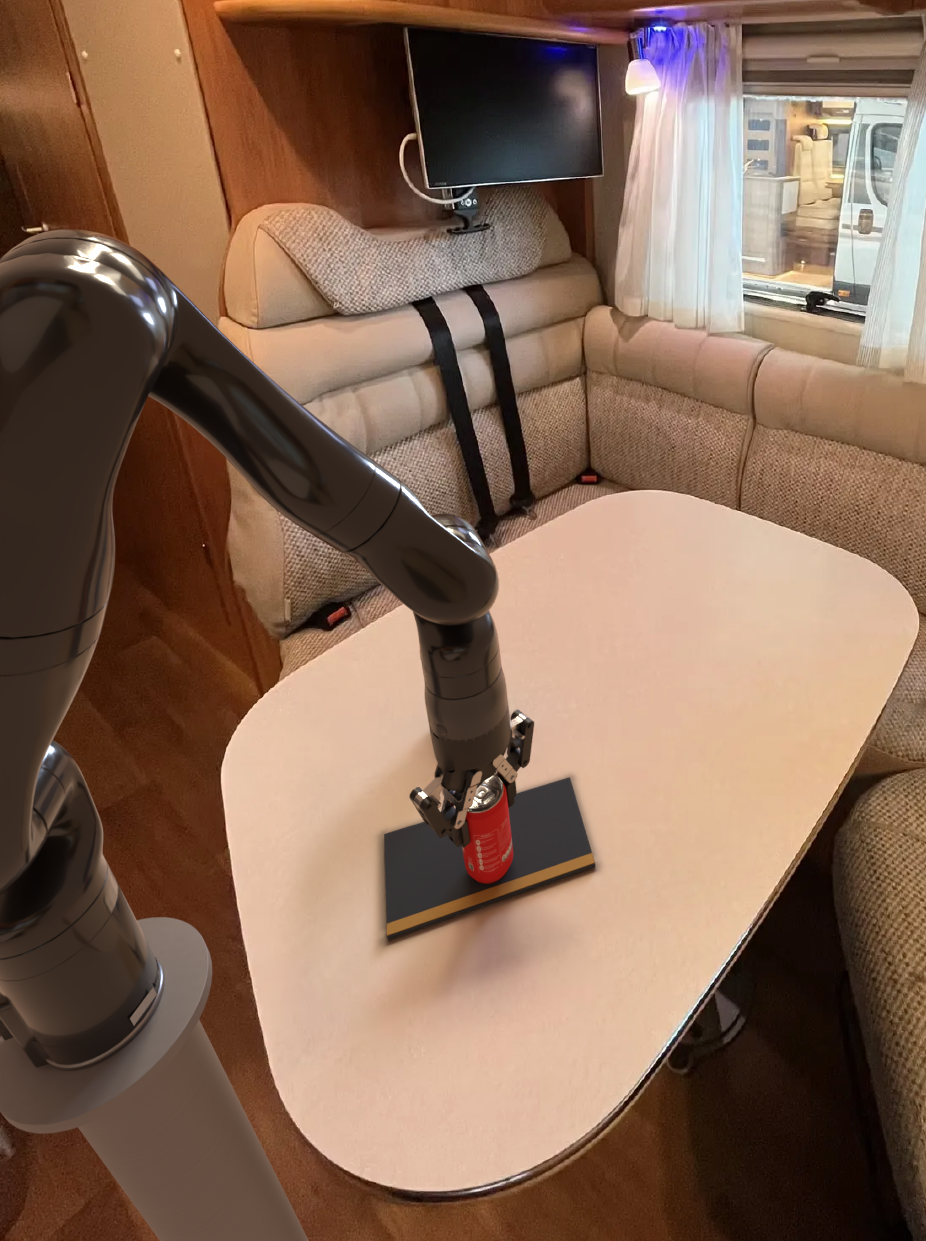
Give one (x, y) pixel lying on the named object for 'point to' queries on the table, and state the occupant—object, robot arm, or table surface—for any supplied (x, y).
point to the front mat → (437, 877)
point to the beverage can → (489, 833)
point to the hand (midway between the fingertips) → (483, 820)
